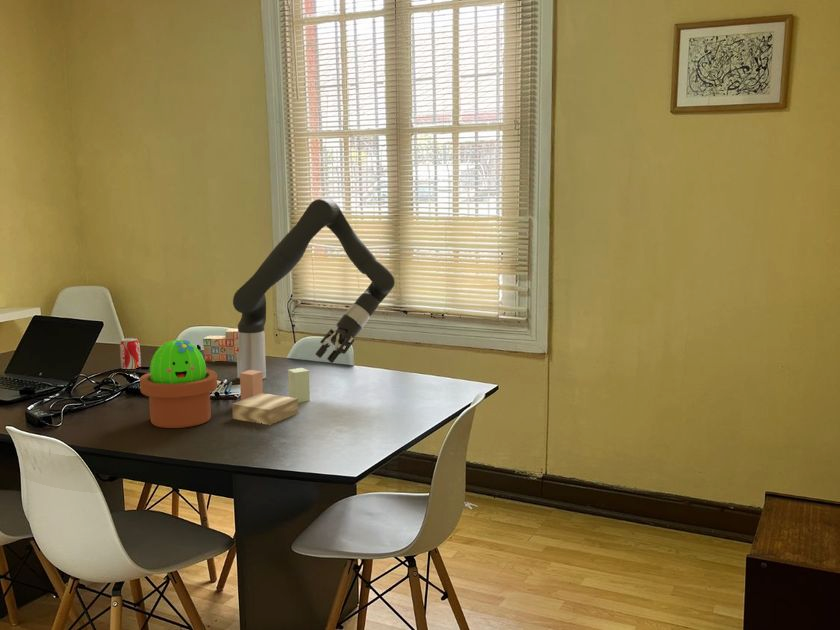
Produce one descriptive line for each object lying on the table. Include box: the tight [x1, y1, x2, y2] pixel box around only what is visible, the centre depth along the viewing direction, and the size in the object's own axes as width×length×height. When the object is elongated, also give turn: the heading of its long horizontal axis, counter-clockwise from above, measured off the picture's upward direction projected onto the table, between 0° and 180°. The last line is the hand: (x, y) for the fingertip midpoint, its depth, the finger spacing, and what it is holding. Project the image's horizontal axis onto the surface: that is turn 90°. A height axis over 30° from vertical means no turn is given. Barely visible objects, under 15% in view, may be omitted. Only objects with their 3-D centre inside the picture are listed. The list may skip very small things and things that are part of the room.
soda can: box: [119, 337, 142, 370], centre depth 313 cm, size 7×7×12 cm
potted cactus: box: [139, 338, 218, 429], centre depth 249 cm, size 22×22×25 cm
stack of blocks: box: [202, 328, 239, 363], centre depth 330 cm, size 21×6×12 cm, turn 85°
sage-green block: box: [287, 367, 311, 404], centre depth 272 cm, size 5×5×10 cm
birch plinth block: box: [231, 392, 299, 426], centre depth 255 cm, size 14×14×5 cm
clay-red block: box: [239, 370, 264, 401], centre depth 270 cm, size 5×5×10 cm
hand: (323, 358), depth 276 cm, fingers open, 8 cm apart
